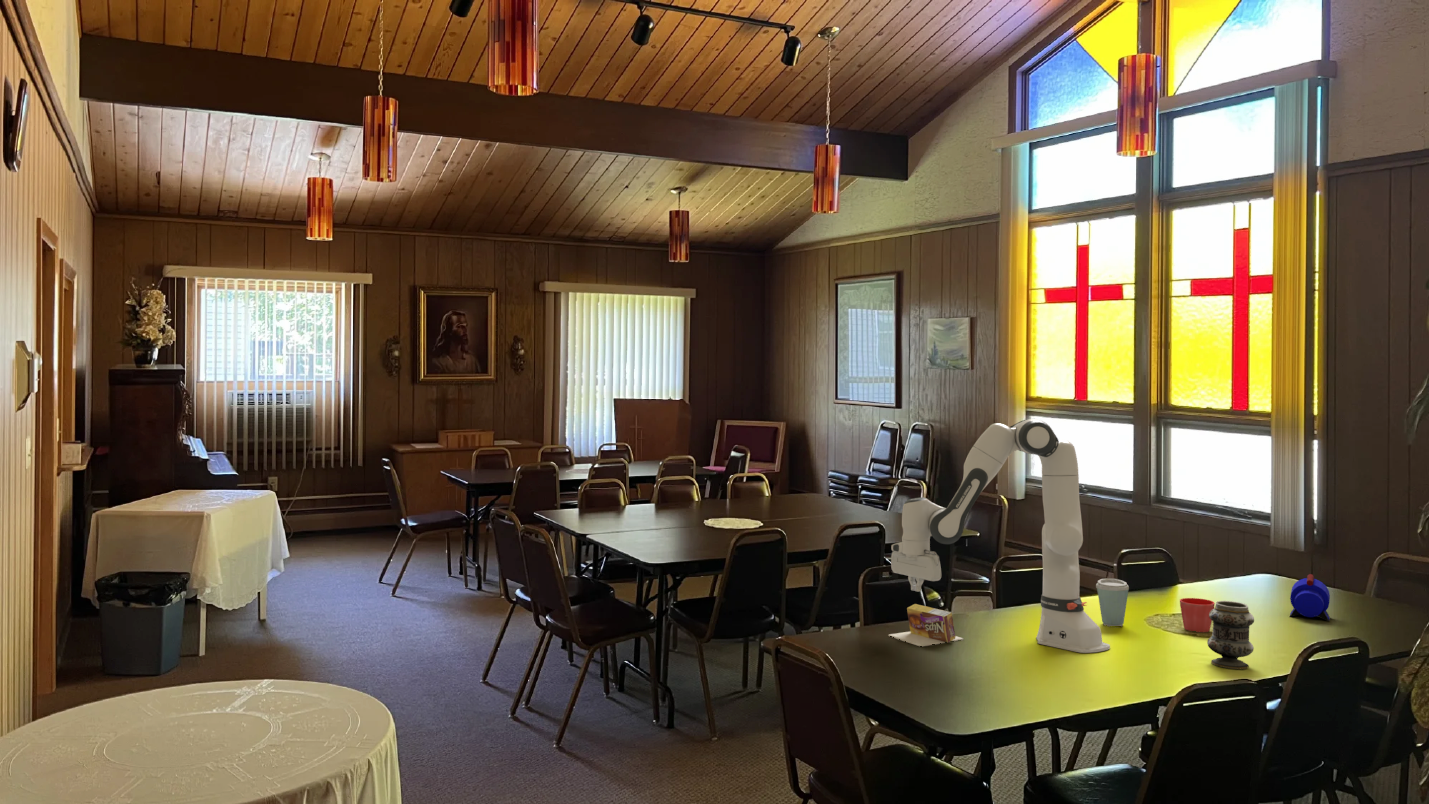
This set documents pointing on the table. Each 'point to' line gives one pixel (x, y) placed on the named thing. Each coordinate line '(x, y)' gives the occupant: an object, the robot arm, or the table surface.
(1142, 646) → the table surface
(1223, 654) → the apothecary jar
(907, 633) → the mat
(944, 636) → the candy box
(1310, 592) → the alarm clock
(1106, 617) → the disposable coffee cup
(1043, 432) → the robot arm
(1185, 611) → the flower pot
